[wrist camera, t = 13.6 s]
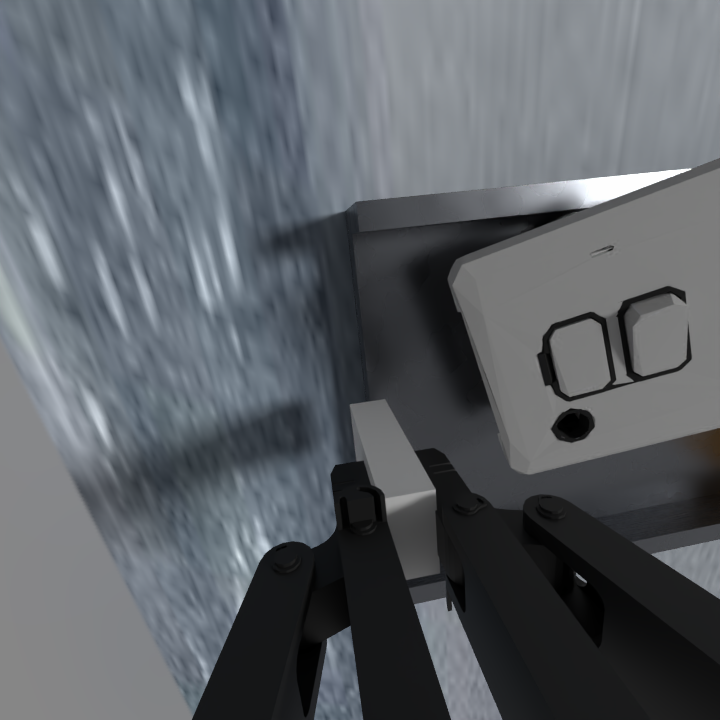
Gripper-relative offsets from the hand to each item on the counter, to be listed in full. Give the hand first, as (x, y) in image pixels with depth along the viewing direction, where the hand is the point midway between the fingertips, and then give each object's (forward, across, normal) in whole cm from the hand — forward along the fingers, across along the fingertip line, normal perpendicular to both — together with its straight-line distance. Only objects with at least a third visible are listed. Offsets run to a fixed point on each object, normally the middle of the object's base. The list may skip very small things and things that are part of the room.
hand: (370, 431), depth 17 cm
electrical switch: (+1, +11, 0) cm, 11 cm away
